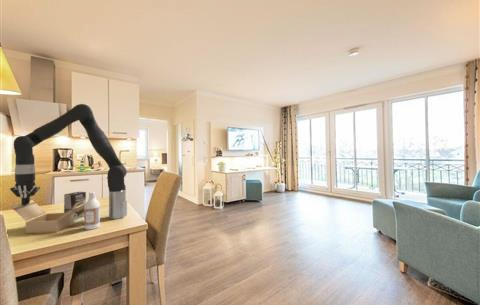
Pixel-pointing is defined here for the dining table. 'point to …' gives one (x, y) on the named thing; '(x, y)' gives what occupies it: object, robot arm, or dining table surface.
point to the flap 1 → (28, 210)
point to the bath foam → (92, 212)
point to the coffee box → (75, 203)
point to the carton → (49, 223)
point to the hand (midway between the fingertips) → (25, 204)
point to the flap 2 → (73, 210)
